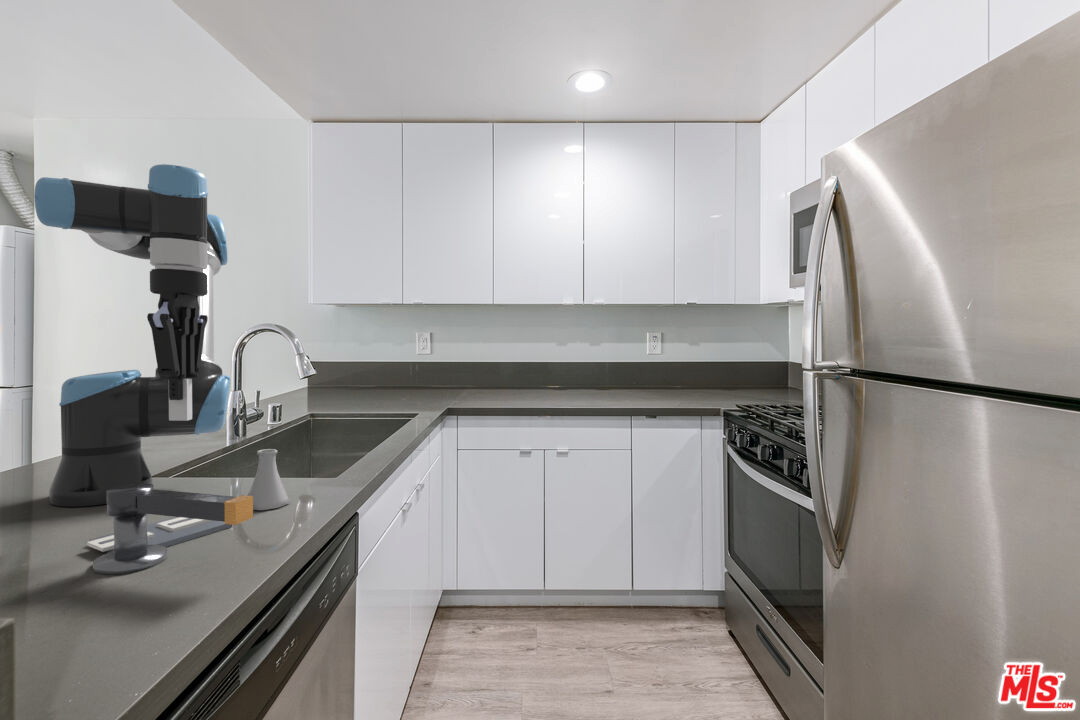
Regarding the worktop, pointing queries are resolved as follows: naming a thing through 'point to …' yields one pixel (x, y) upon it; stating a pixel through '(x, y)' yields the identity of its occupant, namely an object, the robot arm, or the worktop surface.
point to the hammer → (177, 504)
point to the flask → (267, 483)
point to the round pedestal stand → (130, 548)
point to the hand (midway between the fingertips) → (180, 419)
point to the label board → (167, 532)
